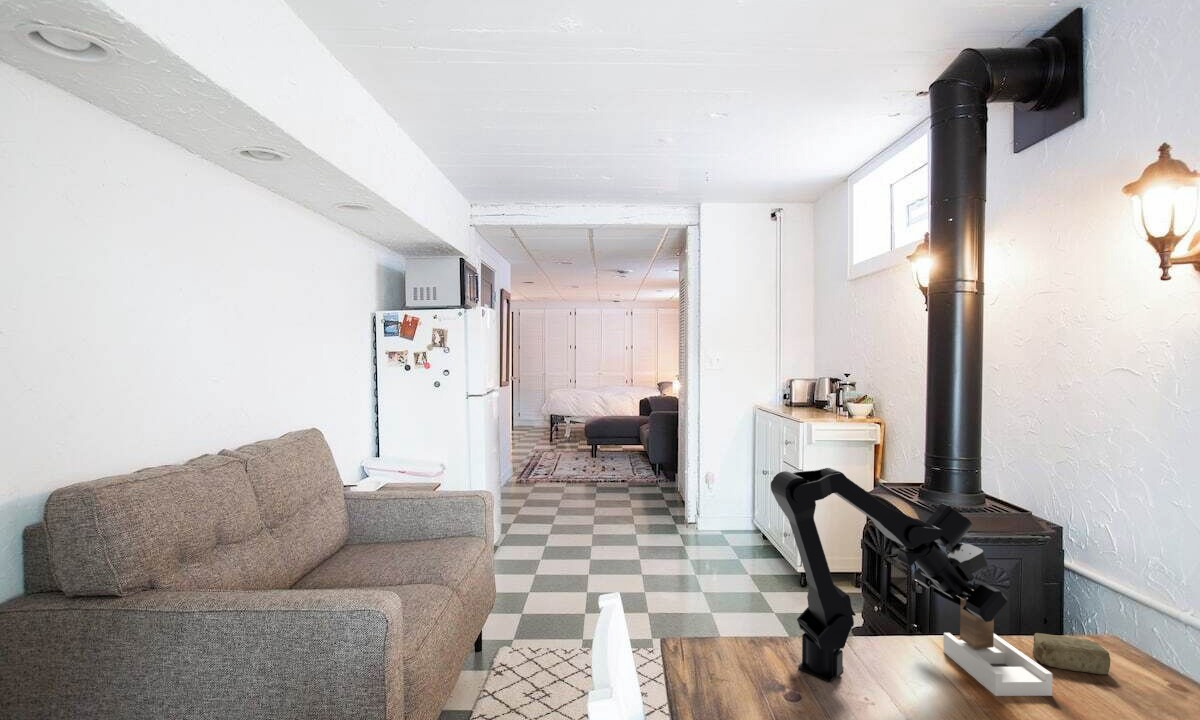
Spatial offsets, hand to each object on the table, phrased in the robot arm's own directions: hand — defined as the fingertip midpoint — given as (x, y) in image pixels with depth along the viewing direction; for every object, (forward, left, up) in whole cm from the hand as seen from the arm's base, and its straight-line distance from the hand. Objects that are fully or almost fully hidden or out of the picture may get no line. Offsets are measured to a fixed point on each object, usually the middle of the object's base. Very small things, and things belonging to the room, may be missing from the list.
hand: (983, 614), depth 114 cm
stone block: (+13, +10, -9) cm, 18 cm away
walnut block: (-1, -1, -6) cm, 6 cm away
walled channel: (+3, -5, -9) cm, 10 cm away
